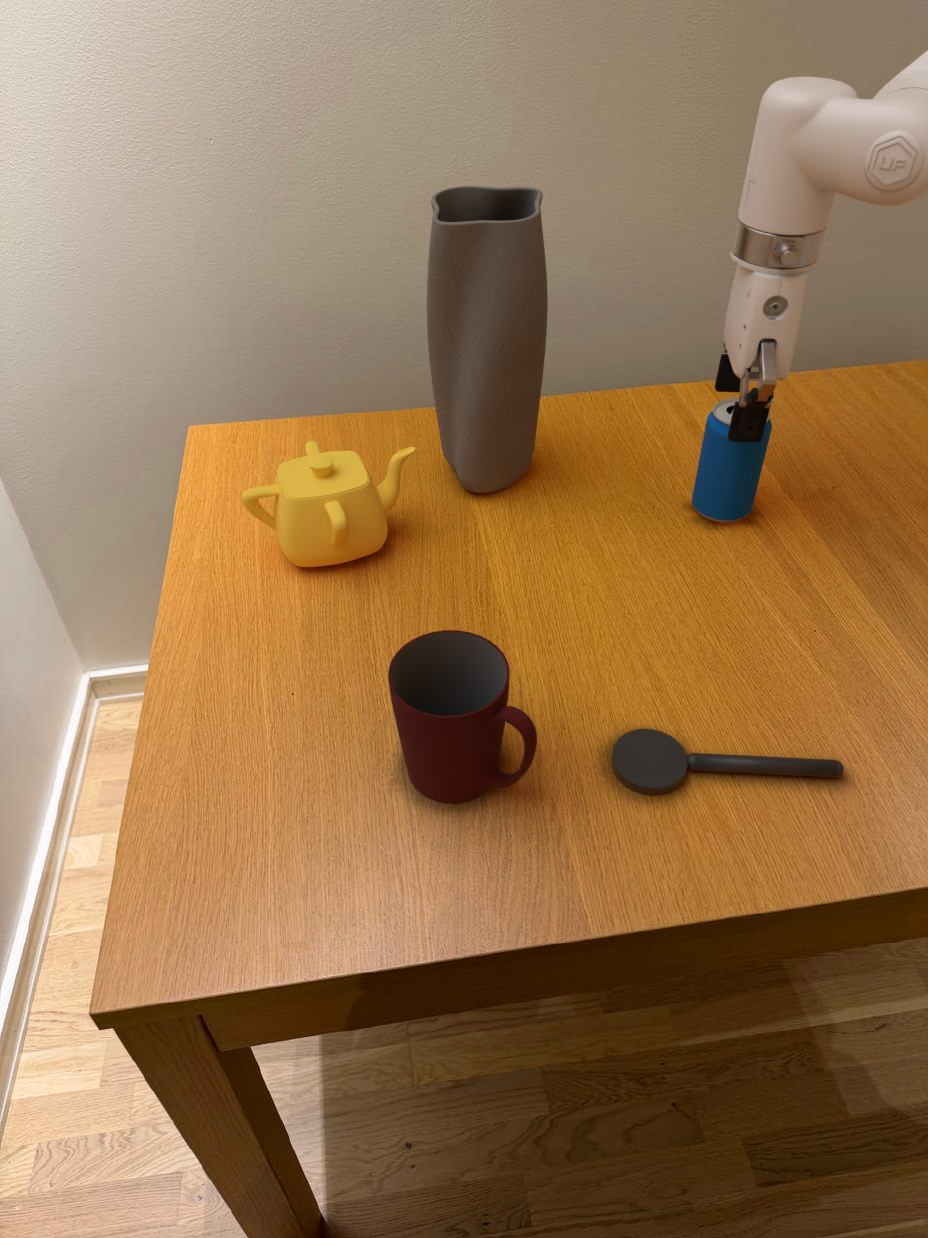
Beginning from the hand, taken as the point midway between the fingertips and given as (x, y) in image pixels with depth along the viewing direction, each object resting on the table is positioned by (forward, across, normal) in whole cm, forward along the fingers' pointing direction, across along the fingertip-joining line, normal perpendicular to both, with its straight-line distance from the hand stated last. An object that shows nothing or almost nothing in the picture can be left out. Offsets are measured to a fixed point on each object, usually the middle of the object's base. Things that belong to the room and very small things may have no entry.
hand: (736, 414), depth 90 cm
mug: (+12, -38, +24) cm, 47 cm away
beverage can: (+12, 0, -1) cm, 12 cm away
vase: (+12, +6, +25) cm, 29 cm away
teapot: (+12, -8, +40) cm, 43 cm away
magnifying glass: (+11, -36, +4) cm, 38 cm away
